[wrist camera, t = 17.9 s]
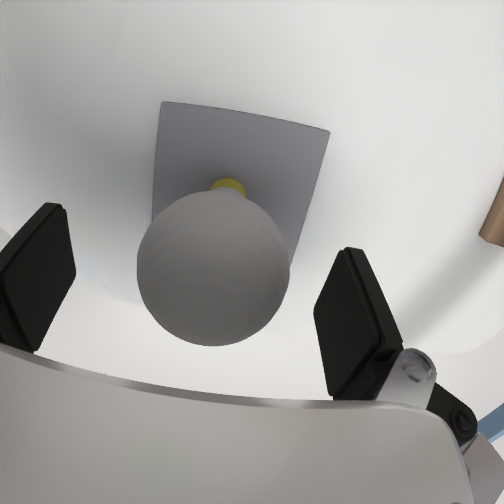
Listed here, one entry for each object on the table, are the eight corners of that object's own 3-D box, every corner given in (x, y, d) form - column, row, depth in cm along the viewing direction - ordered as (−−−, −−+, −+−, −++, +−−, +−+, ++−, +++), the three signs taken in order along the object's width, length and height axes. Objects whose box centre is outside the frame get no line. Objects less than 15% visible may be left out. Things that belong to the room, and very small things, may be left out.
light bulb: (287, 153, 16) (322, 266, 8) (266, 239, 19) (272, 384, 11) (186, 136, 15) (106, 231, 7) (177, 224, 18) (124, 360, 10)
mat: (153, 241, 20) (151, 245, 19) (163, 101, 15) (161, 102, 14) (288, 264, 21) (289, 268, 20) (328, 130, 16) (330, 132, 15)
